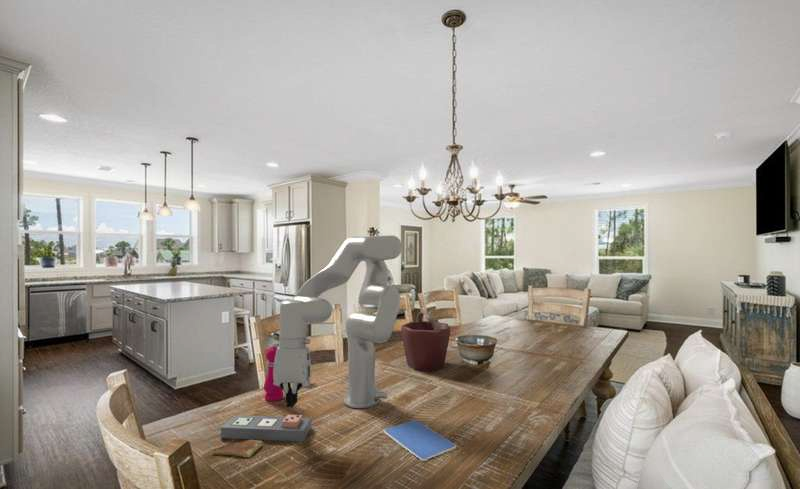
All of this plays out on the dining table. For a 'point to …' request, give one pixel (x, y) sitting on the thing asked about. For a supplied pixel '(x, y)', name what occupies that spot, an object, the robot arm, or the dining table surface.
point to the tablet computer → (419, 439)
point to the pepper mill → (272, 390)
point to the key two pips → (242, 421)
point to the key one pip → (267, 422)
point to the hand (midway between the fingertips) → (291, 405)
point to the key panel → (265, 429)
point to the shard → (239, 448)
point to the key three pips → (292, 421)
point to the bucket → (425, 343)
